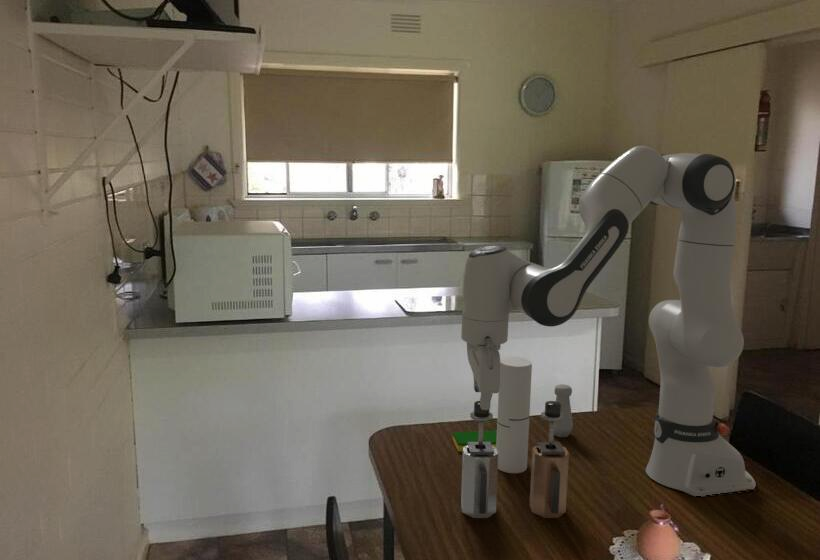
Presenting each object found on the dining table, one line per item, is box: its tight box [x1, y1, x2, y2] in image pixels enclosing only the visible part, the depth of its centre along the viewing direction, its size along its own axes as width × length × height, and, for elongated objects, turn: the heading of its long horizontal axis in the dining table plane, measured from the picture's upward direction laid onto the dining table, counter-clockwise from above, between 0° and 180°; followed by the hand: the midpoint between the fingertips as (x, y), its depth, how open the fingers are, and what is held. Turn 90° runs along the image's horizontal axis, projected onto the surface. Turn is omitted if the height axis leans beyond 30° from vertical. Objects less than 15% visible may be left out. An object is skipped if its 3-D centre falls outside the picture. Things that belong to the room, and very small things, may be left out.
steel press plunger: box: [469, 400, 494, 449], centre depth 131 cm, size 4×4×12 cm
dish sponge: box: [452, 429, 497, 452], centre depth 164 cm, size 7×14×2 cm, turn 98°
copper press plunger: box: [540, 400, 564, 449], centre depth 131 cm, size 4×4×12 cm
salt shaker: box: [554, 384, 574, 438], centre depth 170 cm, size 6×6×13 cm
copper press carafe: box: [529, 441, 570, 519], centre depth 132 cm, size 7×9×13 cm
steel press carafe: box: [460, 442, 499, 519], centre depth 131 cm, size 7×9×13 cm
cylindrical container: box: [496, 356, 533, 474], centre depth 150 cm, size 7×7×25 cm
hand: (481, 399), depth 130 cm, fingers open, 8 cm apart
